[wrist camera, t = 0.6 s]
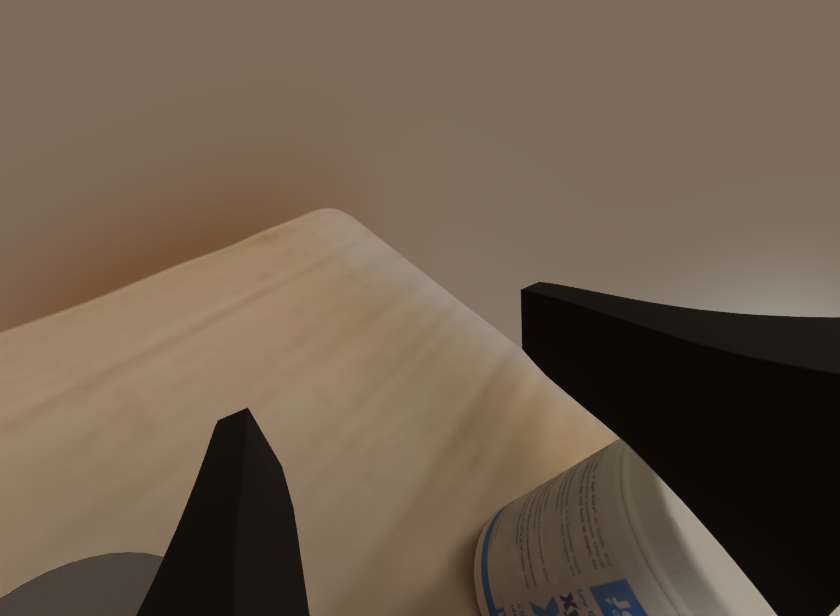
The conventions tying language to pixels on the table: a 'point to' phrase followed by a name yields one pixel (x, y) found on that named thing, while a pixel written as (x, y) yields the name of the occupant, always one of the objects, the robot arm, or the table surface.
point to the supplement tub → (607, 550)
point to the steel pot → (87, 588)
